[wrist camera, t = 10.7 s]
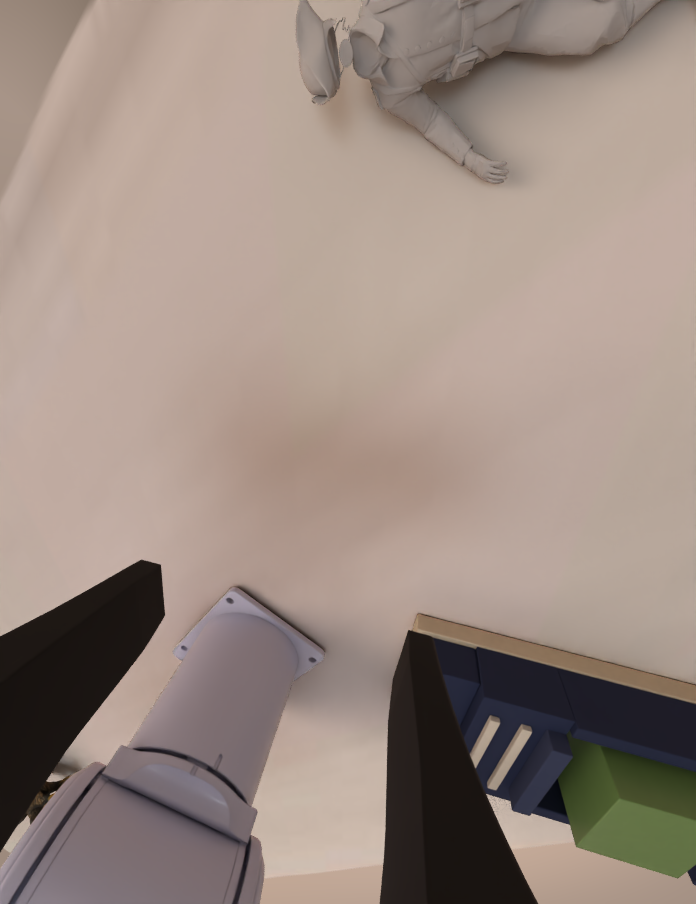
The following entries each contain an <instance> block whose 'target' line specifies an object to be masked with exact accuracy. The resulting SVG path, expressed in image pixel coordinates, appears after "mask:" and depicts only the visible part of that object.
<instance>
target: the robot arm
mask: <svg viewBox="0 0 696 904" xmlns="http://www.w3.org/2000/svg"><path fill="white" fill-rule="evenodd" d="M164 616H165V610H164V598H163V585H162V573H161V565H160V564H156V563H152V562H148V561H144V560H140V561H138V562H136V563H135V564H133V565H131V566H129V567H127V568H126V569H124V570H122V571H120V572H119V573H117V574H115V575H113V576H112V577H110V578H108V579H106V580H105V581H103V582H101V583H99V584H98V585H96V586H94V587H92V588H91V589H89V590H87V591H85V592H83V593H82V594H80V595H78V596H76V597H74V598H73V599H71V600H69V601H67V602H65V603H64V604H62V605H60V606H58V607H56V608H55V609H53V610H51V611H49V612H47V613H45V614H43V615H41V616H39V617H37V618H35V619H33V620H31V621H29V622H28V623H26V624H24V625H22V626H20V627H18V628H16V629H14V630H12V631H10V632H8V633H6V634H4V635H2V636H0V852H1V850H2V849H3V847H4V845H5V844H6V842H7V841H8V839H9V838H10V836H11V834H12V833H13V831H14V830H15V828H16V827H17V825H18V824H19V822H20V820H21V819H22V817H23V816H24V814H25V813H26V811H27V809H28V808H29V806H30V805H31V803H32V802H33V800H34V798H35V797H36V795H37V794H38V792H39V791H40V789H41V788H42V786H43V785H44V783H45V782H46V780H47V779H48V777H49V776H50V774H51V773H52V771H53V770H54V768H55V767H56V765H57V764H58V762H59V761H60V759H61V758H62V756H63V755H64V753H65V752H66V750H67V749H68V748H69V746H70V745H71V744H72V742H73V741H74V740H75V738H76V737H77V735H78V734H79V733H80V731H81V730H82V729H83V728H84V726H85V725H86V724H87V722H88V721H89V720H90V719H91V717H92V716H93V715H94V714H95V712H96V711H97V710H98V708H99V707H100V706H101V705H102V703H103V702H104V701H105V699H106V698H107V697H108V696H109V694H110V693H111V692H112V691H113V689H114V688H115V687H116V685H117V684H118V683H119V682H120V680H121V679H122V678H123V676H124V675H125V674H126V673H127V671H128V670H129V669H130V667H131V666H132V665H133V663H134V662H135V661H136V660H137V658H138V657H139V656H140V654H141V653H142V652H143V650H144V649H145V647H146V646H147V644H148V642H149V641H150V639H151V638H152V636H153V635H154V633H155V631H156V630H157V628H158V626H159V625H160V623H161V621H162V620H163V618H164ZM173 654H174V656H176V657H177V658H178V659H180V660H181V661H182V662H181V663H180V665H179V667H178V668H177V670H176V671H175V673H174V674H173V676H172V677H171V679H170V680H169V682H168V684H167V685H166V687H165V688H164V690H163V691H162V693H161V694H160V696H159V697H158V699H157V701H156V702H155V704H154V705H153V707H152V708H151V710H150V711H149V713H148V715H147V716H146V718H145V719H144V721H143V722H142V724H141V725H140V727H139V728H138V730H137V732H136V733H135V735H134V736H133V738H132V740H131V741H130V743H129V744H128V746H127V747H126V746H123V745H121V746H120V747H119V748H118V750H117V751H116V753H115V755H114V756H113V758H112V759H111V761H110V762H109V764H108V765H107V767H106V765H104V764H102V763H100V762H94V763H92V764H90V765H89V766H88V767H86V768H84V769H82V770H80V771H78V772H76V773H74V774H73V775H72V776H70V777H69V778H68V779H67V780H66V781H65V782H64V784H63V785H62V786H61V787H60V788H59V789H58V790H57V792H56V793H55V794H54V795H53V796H52V798H51V799H50V800H49V801H48V803H47V804H46V805H45V806H44V808H43V809H42V810H41V812H40V813H39V814H38V816H37V817H36V818H35V820H34V821H33V822H32V824H31V825H30V826H29V828H28V829H27V831H26V832H25V833H24V835H23V836H22V838H21V839H20V840H19V842H18V843H17V845H16V846H15V848H14V849H13V851H12V852H11V853H10V855H9V856H8V858H7V859H6V861H5V862H4V864H3V865H2V867H1V869H0V904H259V903H260V899H261V893H262V887H263V881H264V860H263V856H262V847H261V842H260V840H259V839H258V838H256V837H254V836H252V835H251V831H252V828H253V825H254V822H255V819H256V816H257V810H256V809H255V808H253V807H252V804H253V801H254V798H255V794H256V791H257V788H258V785H259V782H260V779H261V776H262V773H263V770H264V767H265V764H266V761H267V758H268V755H269V752H270V749H271V746H272V743H273V740H274V737H275V734H276V731H277V728H278V725H279V722H280V719H281V716H282V713H283V710H284V707H285V704H286V701H287V698H288V695H289V692H290V689H291V686H292V683H293V682H294V681H295V680H297V679H298V678H299V677H301V676H302V675H303V674H305V673H306V672H307V671H309V670H310V669H311V668H313V667H314V666H315V665H317V664H318V663H320V662H321V661H322V660H323V659H324V656H325V652H324V650H323V649H321V648H320V647H319V646H317V645H316V644H315V643H313V642H312V641H310V640H309V639H308V638H306V637H305V636H304V635H302V634H301V633H299V632H298V631H297V630H295V629H294V628H293V627H291V626H290V625H288V624H287V623H286V622H284V621H283V620H282V619H280V618H279V617H277V616H276V615H275V614H273V613H272V612H271V611H269V610H268V609H266V608H265V607H264V606H262V605H261V604H260V603H258V602H257V601H255V600H254V599H253V598H251V597H250V596H249V595H247V594H246V593H244V592H243V591H242V590H240V589H239V588H236V587H232V588H230V589H229V590H228V591H227V592H226V594H225V595H224V596H223V597H222V598H221V599H220V600H219V601H218V602H217V603H216V604H215V605H214V606H213V607H212V608H211V609H210V611H209V612H208V613H207V614H206V615H205V616H204V617H203V618H202V619H201V620H200V621H199V622H198V623H197V624H196V625H195V626H194V628H193V629H192V630H191V631H190V632H189V633H188V634H187V635H186V636H185V637H184V638H183V639H182V640H181V641H180V642H179V643H178V645H177V646H176V647H175V648H174V650H173ZM380 904H538V903H537V901H536V899H535V897H534V895H533V893H532V891H531V889H530V887H529V885H528V883H527V881H526V879H525V878H524V875H523V873H522V871H521V869H520V867H519V865H518V863H517V861H516V859H515V857H514V854H513V852H512V850H511V848H510V846H509V844H508V842H507V840H506V838H505V835H504V833H503V831H502V829H501V827H500V824H499V822H498V820H497V818H496V816H495V814H494V811H493V809H492V807H491V804H490V802H489V800H488V798H487V795H486V793H485V790H484V788H483V786H482V783H481V781H480V778H479V776H478V773H477V771H476V768H475V766H474V763H473V761H472V758H471V756H470V753H469V751H468V748H467V745H466V743H465V740H464V737H463V734H462V732H461V729H460V726H459V723H458V720H457V717H456V714H455V712H454V709H453V706H452V703H451V700H450V697H449V693H448V690H447V687H446V684H445V680H444V677H443V674H442V670H441V666H440V663H439V659H438V655H437V651H436V647H435V642H434V639H433V638H432V636H429V635H426V634H422V633H418V632H414V631H410V630H408V633H407V636H406V640H405V643H404V646H403V649H402V652H401V655H400V659H399V662H398V665H397V668H396V671H395V674H394V678H393V684H392V692H391V701H390V710H389V719H388V747H387V789H386V831H385V850H384V863H383V874H382V886H381V896H380Z"/></svg>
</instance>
